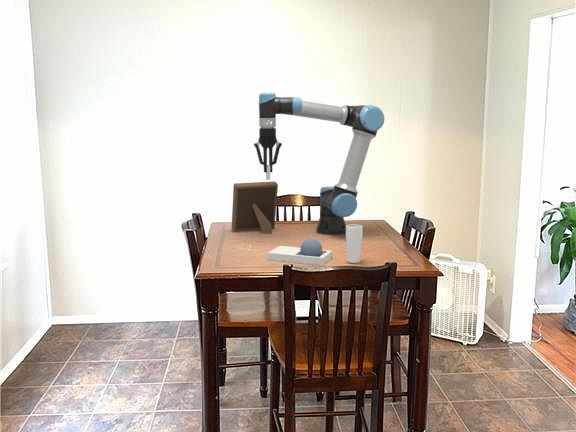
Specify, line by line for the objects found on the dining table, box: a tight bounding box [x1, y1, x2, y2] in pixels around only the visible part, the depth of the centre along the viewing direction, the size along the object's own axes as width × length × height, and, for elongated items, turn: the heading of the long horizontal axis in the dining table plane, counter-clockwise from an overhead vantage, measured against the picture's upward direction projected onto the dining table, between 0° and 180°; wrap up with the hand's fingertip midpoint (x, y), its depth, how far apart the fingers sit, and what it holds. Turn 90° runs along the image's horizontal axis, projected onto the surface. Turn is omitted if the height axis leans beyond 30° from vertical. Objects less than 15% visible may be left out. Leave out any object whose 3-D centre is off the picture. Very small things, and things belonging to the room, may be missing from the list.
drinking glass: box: [345, 223, 364, 264], centre depth 236 cm, size 7×7×15 cm
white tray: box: [266, 245, 334, 266], centre depth 243 cm, size 24×13×3 cm, turn 68°
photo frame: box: [231, 181, 279, 234], centre depth 293 cm, size 15×22×25 cm
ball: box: [299, 238, 323, 257], centre depth 240 cm, size 9×9×9 cm
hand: (268, 179), depth 268 cm, fingers closed
